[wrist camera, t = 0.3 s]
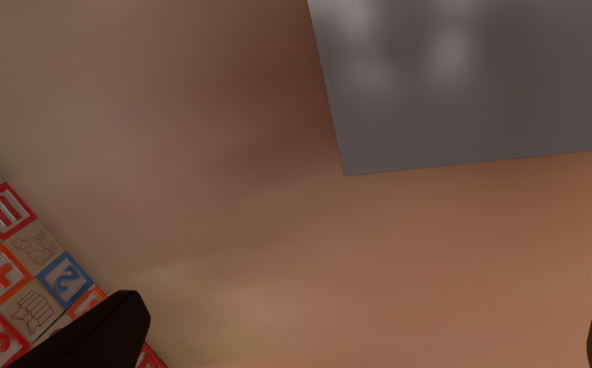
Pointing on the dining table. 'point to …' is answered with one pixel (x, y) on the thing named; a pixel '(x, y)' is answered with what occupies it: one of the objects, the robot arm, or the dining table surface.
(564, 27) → the slate tile
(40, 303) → the stack of blocks
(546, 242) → the dining table surface
